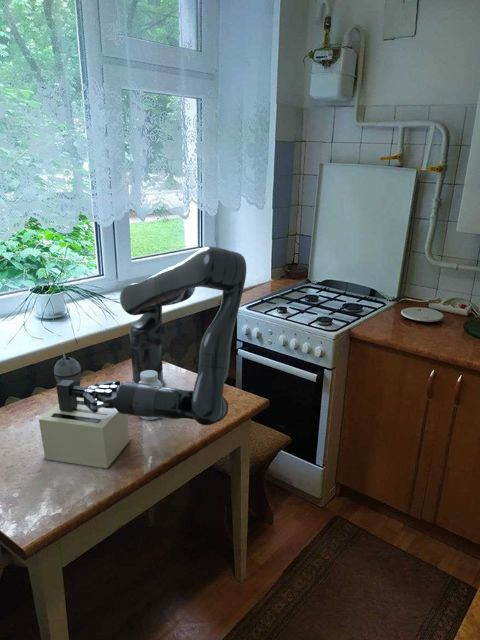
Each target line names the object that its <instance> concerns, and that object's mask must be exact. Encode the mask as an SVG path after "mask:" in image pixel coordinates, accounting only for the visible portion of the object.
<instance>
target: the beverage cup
mask: <svg viewBox="0 0 480 640" xmlns="http://www.w3.org/2000/svg"><path fill="white" fill-rule="evenodd" d="M60 347H61V352H62V358H60V359H59V360H57V362H56V363H55V365H54V367H53V376H54V378H55V381H56V385H57V384H58V383H59V382H61V381H62V380H71V381H75V386H81V378H82V368H81V364H80V363H79V361H77V360H76V359H75V358H74V357H71V356H66V353H65V349H64V344H61V345H60Z"/></svg>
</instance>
